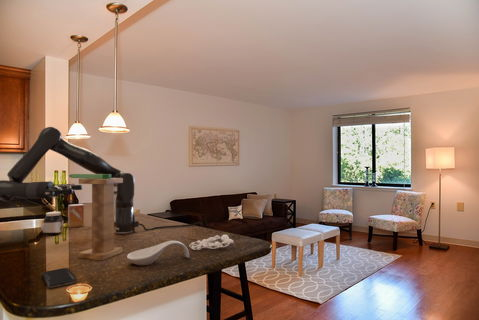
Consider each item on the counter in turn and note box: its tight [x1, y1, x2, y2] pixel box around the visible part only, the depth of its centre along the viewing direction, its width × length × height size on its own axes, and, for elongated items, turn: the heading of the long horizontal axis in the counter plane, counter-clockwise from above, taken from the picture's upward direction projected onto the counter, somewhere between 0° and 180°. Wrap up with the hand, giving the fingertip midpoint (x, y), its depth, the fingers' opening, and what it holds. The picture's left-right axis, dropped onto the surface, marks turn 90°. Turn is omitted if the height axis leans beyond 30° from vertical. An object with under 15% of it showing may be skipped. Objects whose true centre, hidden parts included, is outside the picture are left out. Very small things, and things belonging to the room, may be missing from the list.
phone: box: [42, 267, 77, 289], centre depth 107 cm, size 8×1×15 cm
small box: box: [67, 203, 85, 228], centre depth 197 cm, size 8×6×13 cm
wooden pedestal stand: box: [78, 178, 124, 261], centre depth 135 cm, size 14×12×32 cm
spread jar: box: [40, 211, 64, 237], centre depth 176 cm, size 12×11×12 cm
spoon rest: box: [126, 240, 191, 266], centre depth 126 cm, size 24×12×7 cm, turn 116°
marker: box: [68, 173, 111, 179], centre depth 137 cm, size 21×2×2 cm, turn 71°
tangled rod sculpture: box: [188, 234, 234, 252], centre depth 146 cm, size 19×14×4 cm
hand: (77, 189), depth 143 cm, fingers open, 8 cm apart
